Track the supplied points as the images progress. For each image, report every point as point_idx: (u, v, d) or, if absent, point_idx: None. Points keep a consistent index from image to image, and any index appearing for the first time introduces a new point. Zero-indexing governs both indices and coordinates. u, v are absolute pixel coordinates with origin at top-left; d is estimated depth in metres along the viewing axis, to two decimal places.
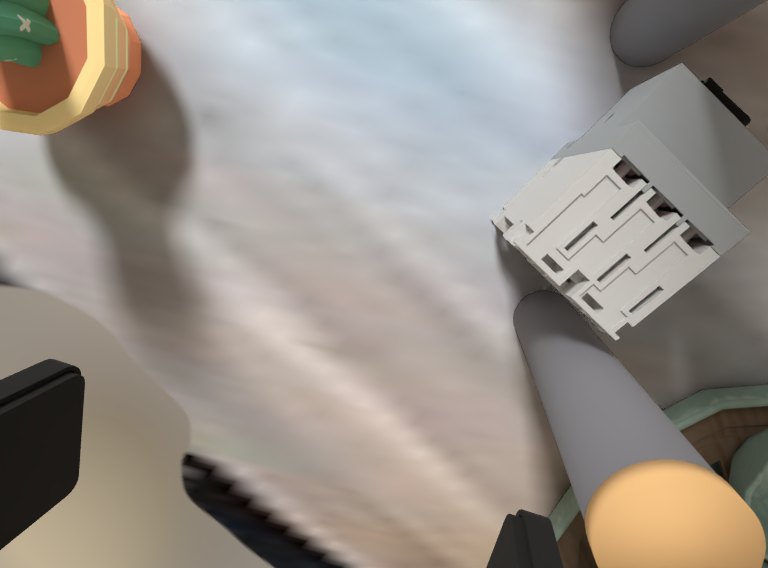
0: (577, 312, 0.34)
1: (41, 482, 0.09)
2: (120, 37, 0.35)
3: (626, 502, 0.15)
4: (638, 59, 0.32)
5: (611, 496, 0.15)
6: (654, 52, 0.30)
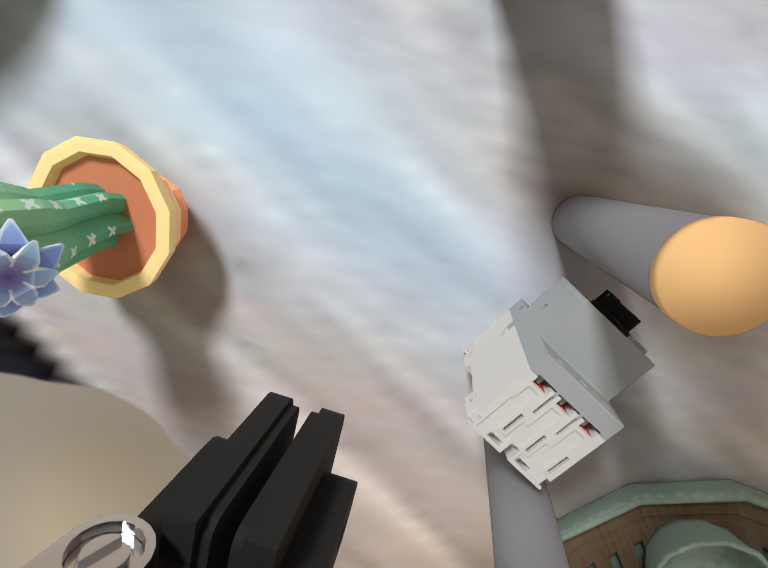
0: None
1: None
2: (176, 220, 0.45)
3: None
4: None
5: None
6: None
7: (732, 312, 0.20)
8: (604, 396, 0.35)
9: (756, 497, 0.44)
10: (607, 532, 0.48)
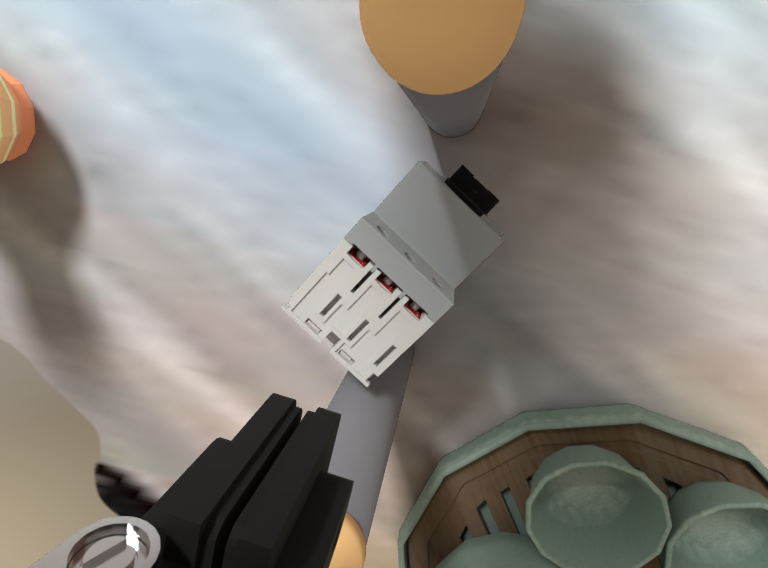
0: None
1: None
2: (4, 110, 0.40)
3: None
4: (441, 133, 0.37)
5: None
6: (443, 133, 0.35)
7: (455, 51, 0.14)
8: (449, 282, 0.30)
9: (652, 419, 0.39)
10: (497, 465, 0.43)
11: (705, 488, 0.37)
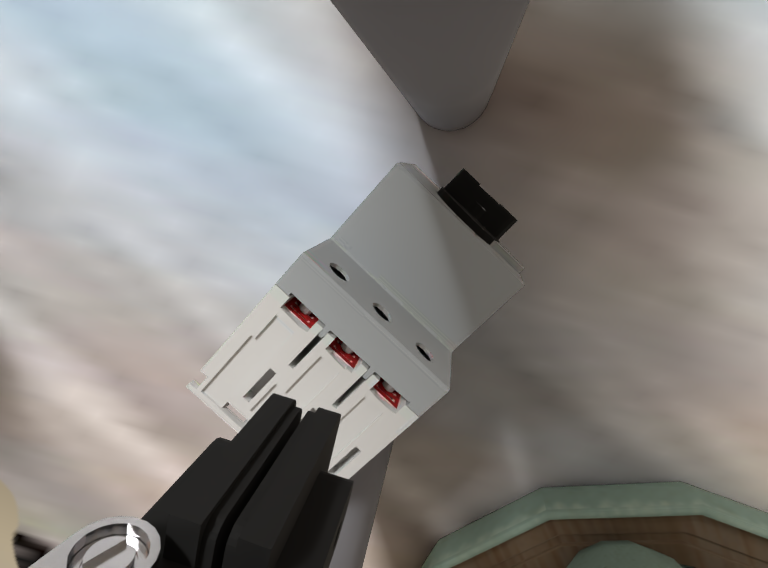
0: None
1: None
2: None
3: None
4: (434, 125, 0.27)
5: None
6: (436, 123, 0.25)
7: None
8: (444, 343, 0.20)
9: (718, 509, 0.29)
10: (508, 557, 0.33)
11: None
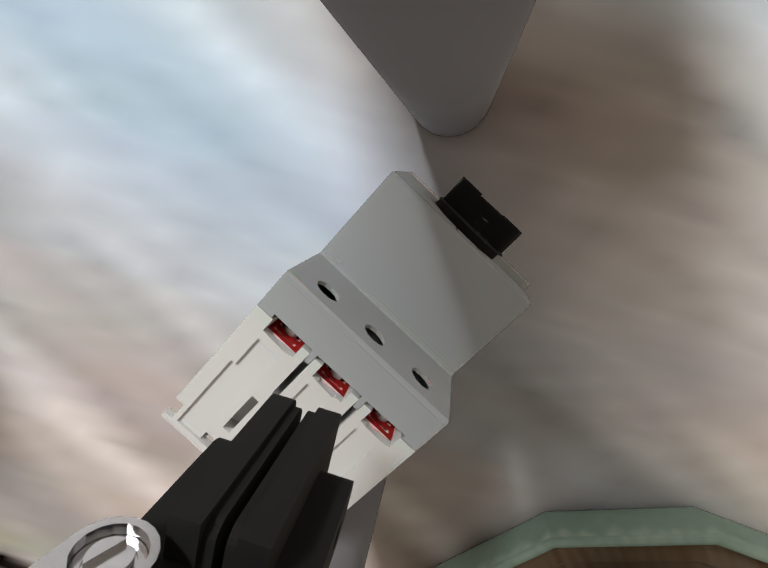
0: None
1: None
2: None
3: None
4: (432, 131, 0.26)
5: None
6: (435, 129, 0.24)
7: None
8: (443, 366, 0.19)
9: (734, 538, 0.27)
10: None
11: None
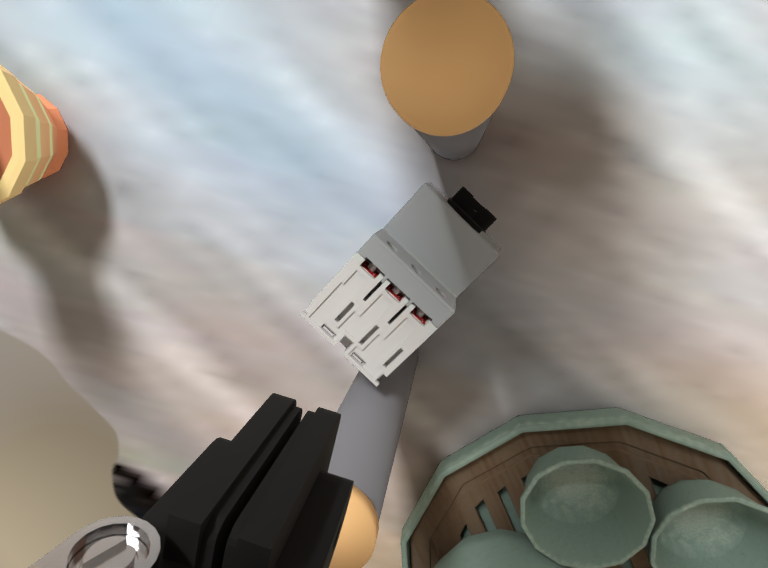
0: None
1: None
2: (43, 133, 0.44)
3: None
4: (443, 157, 0.41)
5: None
6: (445, 156, 0.39)
7: (457, 103, 0.18)
8: (451, 292, 0.34)
9: (637, 421, 0.42)
10: (494, 465, 0.46)
11: (687, 485, 0.40)
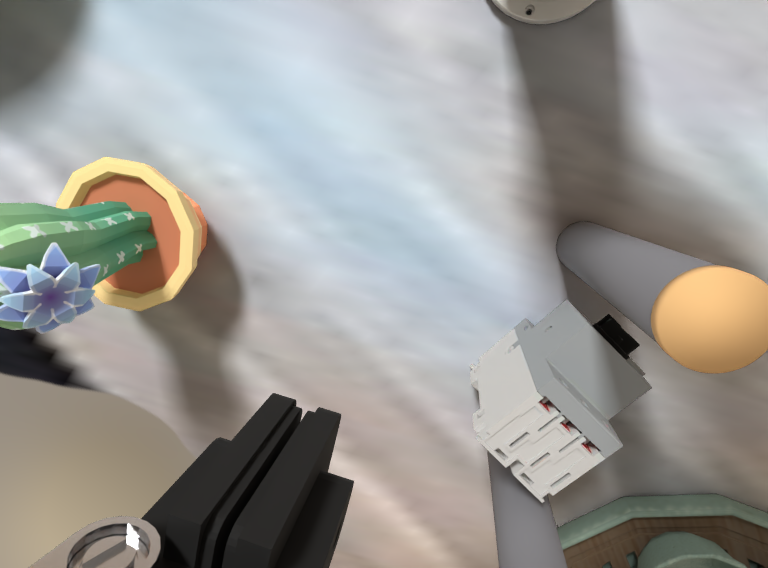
0: None
1: None
2: None
3: None
4: None
5: None
6: None
7: (724, 352, 0.22)
8: (604, 415, 0.38)
9: (742, 511, 0.46)
10: (601, 543, 0.50)
11: None
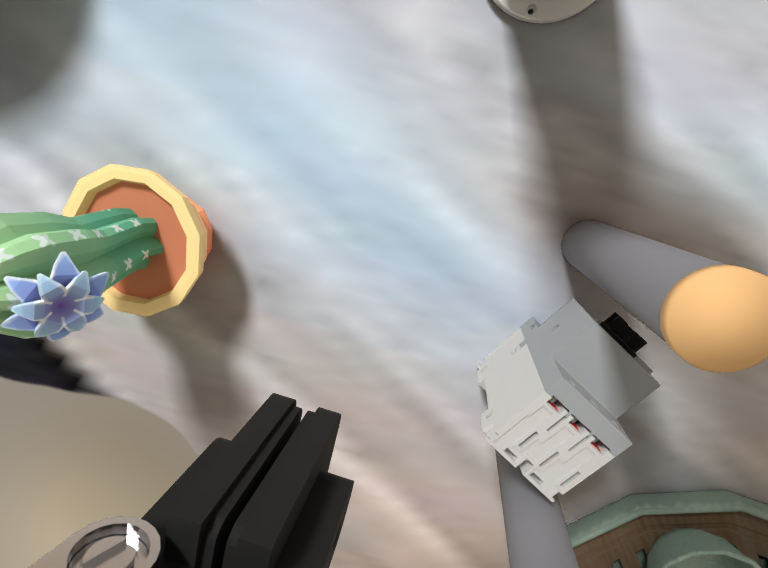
0: None
1: None
2: (204, 242, 0.47)
3: None
4: None
5: None
6: None
7: (734, 351, 0.22)
8: (613, 414, 0.38)
9: (751, 507, 0.46)
10: (610, 540, 0.50)
11: None
